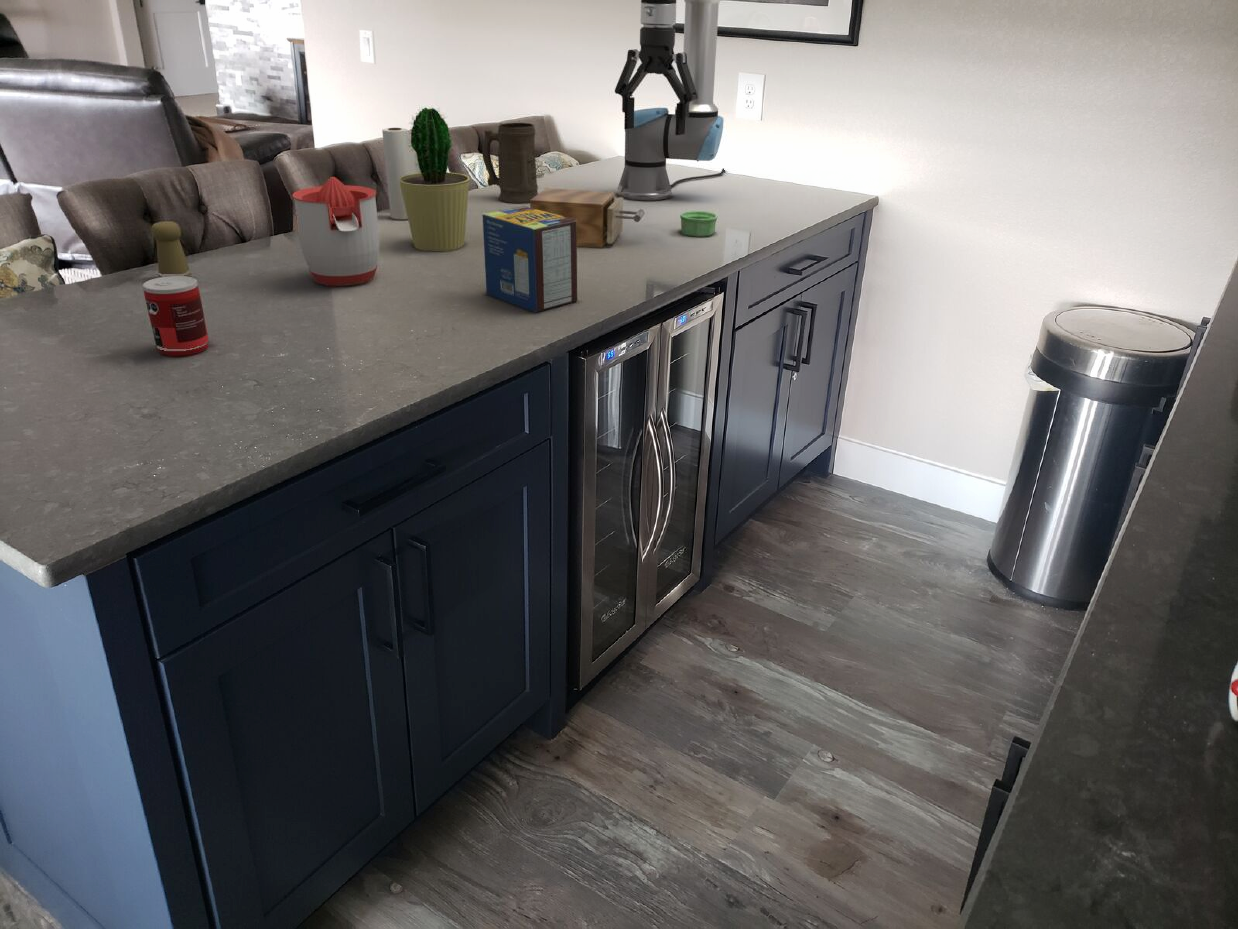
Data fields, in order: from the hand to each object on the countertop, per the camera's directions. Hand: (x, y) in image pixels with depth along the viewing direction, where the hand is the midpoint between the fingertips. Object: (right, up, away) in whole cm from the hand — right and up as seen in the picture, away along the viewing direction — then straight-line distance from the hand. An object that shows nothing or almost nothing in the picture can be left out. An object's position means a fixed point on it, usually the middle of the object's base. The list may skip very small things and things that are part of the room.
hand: (654, 131), depth 207 cm
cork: (-96, -37, -22) cm, 106 cm away
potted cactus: (-49, -24, +5) cm, 55 cm away
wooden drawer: (-13, -21, +11) cm, 27 cm away
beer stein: (-38, -1, +50) cm, 63 cm away
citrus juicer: (-63, -38, -21) cm, 76 cm away
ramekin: (+11, -18, +19) cm, 29 cm away
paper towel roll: (-62, -12, +28) cm, 69 cm away
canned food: (-78, -56, -56) cm, 111 cm away
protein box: (-25, -43, -29) cm, 57 cm away
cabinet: (-19, -21, +12) cm, 31 cm away
